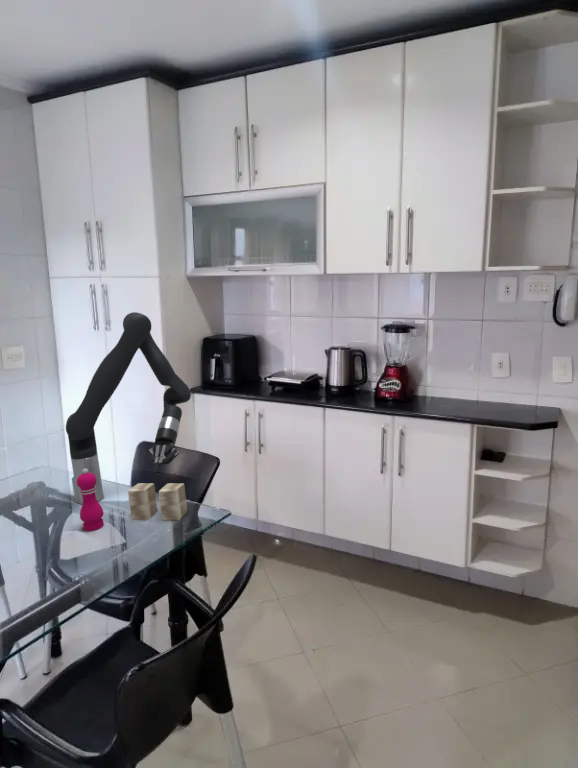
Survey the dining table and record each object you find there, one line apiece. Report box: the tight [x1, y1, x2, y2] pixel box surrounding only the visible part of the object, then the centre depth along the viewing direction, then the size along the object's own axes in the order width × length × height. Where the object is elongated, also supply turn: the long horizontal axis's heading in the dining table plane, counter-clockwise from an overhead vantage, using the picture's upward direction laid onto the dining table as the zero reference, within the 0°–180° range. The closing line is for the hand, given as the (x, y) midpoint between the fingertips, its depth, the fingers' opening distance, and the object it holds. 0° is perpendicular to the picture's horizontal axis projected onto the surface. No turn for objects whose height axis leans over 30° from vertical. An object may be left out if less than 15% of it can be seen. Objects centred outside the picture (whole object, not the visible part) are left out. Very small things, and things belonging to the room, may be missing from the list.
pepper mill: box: [77, 469, 105, 532], centre depth 171 cm, size 7×7×20 cm
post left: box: [127, 482, 159, 521], centre depth 178 cm, size 6×7×10 cm
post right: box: [158, 482, 188, 521], centre depth 175 cm, size 6×7×10 cm
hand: (156, 473), depth 188 cm, fingers closed
